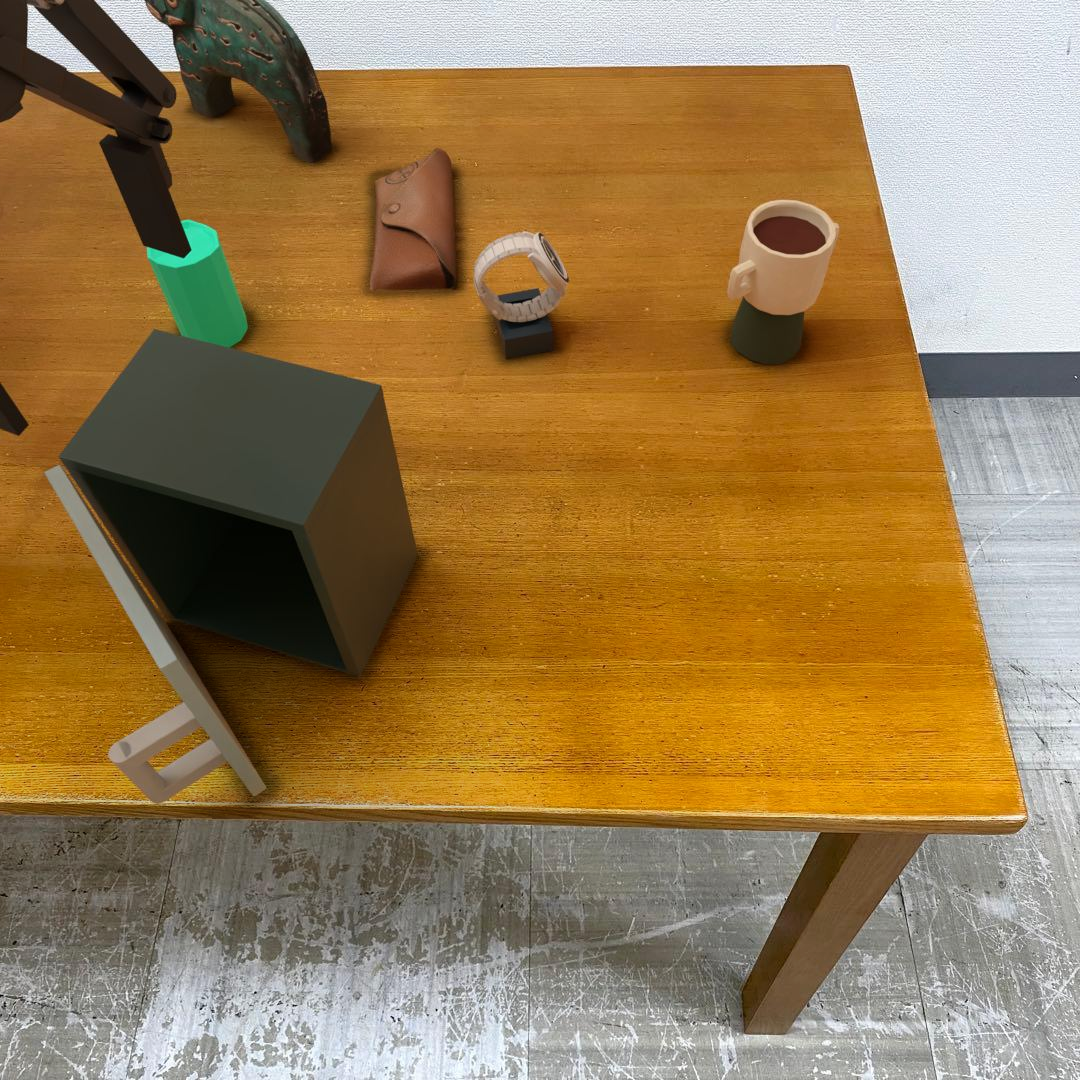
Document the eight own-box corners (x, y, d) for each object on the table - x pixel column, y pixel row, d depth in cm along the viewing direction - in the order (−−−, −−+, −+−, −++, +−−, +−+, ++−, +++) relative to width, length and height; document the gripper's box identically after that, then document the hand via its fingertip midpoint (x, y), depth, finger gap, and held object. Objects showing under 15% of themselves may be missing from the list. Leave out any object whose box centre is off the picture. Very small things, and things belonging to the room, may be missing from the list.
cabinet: (361, 681, 73) (303, 525, 57) (167, 621, 76) (57, 456, 60) (419, 559, 79) (381, 385, 62) (236, 508, 82) (154, 328, 65)
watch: (574, 352, 91) (576, 255, 82) (486, 368, 90) (478, 272, 81) (559, 309, 94) (559, 211, 85) (474, 324, 93) (465, 227, 84)
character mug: (786, 298, 94) (815, 179, 84) (837, 345, 91) (874, 228, 80) (691, 343, 91) (708, 226, 81) (739, 394, 88) (764, 279, 77)
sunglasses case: (369, 175, 104) (394, 123, 100) (431, 200, 108) (459, 151, 103) (367, 298, 95) (396, 246, 90) (436, 321, 98) (467, 273, 93)
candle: (222, 366, 91) (180, 262, 81) (170, 343, 92) (123, 238, 82) (263, 324, 94) (228, 218, 84) (212, 302, 95) (171, 196, 85)
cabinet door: (185, 845, 67) (63, 726, 50) (89, 670, 74) (-45, 515, 58) (268, 791, 69) (177, 658, 52) (167, 625, 76) (59, 463, 60)
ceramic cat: (176, 115, 112) (109, -78, 95) (219, 86, 115) (161, -106, 98) (309, 179, 105) (263, -15, 89) (351, 147, 108) (313, -47, 91)
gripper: (-385, 106, 28) (-18, 536, 45) (157, -241, 40) (280, 203, 58) (-564, 47, 30) (-144, 483, 47) (8, -267, 42) (171, 171, 60)
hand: (90, 330), depth 53 cm, fingers open, 13 cm apart
